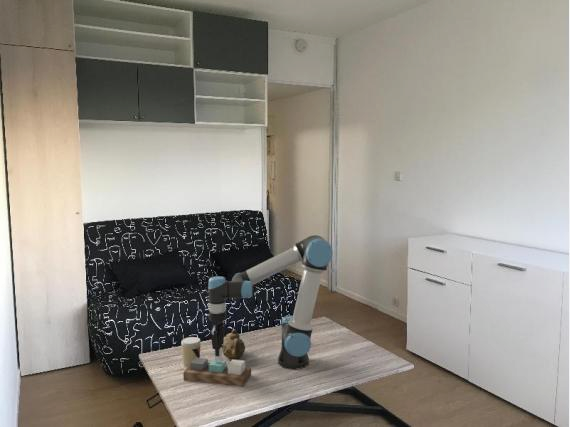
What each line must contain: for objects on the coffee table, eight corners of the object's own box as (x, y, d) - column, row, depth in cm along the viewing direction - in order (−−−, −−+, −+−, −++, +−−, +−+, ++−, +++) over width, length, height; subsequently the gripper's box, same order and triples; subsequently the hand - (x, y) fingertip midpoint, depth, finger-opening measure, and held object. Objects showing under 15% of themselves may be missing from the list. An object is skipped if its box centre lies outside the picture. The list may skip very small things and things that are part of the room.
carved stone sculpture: (218, 352, 243) (218, 323, 242) (240, 349, 247) (240, 321, 245) (226, 368, 223) (226, 338, 222) (250, 365, 227) (250, 335, 225)
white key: (244, 371, 213) (244, 360, 213) (240, 377, 208) (240, 366, 207) (232, 370, 215) (232, 359, 214) (227, 375, 209) (227, 364, 209)
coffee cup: (196, 369, 223) (196, 344, 222) (178, 367, 225) (177, 343, 224) (204, 361, 232) (203, 337, 231) (186, 359, 234) (185, 336, 233)
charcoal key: (207, 369, 218) (207, 358, 217) (202, 374, 212) (202, 364, 211) (195, 367, 219) (195, 357, 219) (190, 373, 213) (190, 362, 213)
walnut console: (251, 375, 216) (251, 366, 216) (242, 387, 205) (242, 378, 204) (194, 369, 223) (194, 361, 222) (183, 380, 211) (183, 371, 211)
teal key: (226, 371, 216) (226, 360, 215) (221, 376, 210) (221, 366, 209) (214, 369, 217) (213, 359, 217) (209, 375, 211) (208, 364, 211)
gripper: (215, 306, 218) (216, 355, 220) (203, 315, 205) (205, 367, 207) (230, 307, 216) (231, 357, 218) (220, 316, 203) (221, 368, 206)
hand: (218, 362), depth 213 cm, fingers closed
